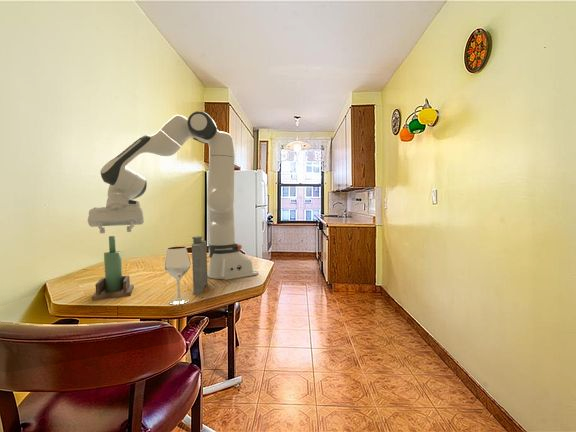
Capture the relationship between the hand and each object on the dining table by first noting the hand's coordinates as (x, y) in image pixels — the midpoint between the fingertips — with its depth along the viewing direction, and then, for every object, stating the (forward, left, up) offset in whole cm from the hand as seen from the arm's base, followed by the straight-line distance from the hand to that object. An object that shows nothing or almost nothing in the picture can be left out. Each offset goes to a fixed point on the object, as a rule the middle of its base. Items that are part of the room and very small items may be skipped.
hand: (115, 231), depth 124 cm
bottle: (0, +11, -21) cm, 23 cm away
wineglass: (-22, +33, -22) cm, 45 cm away
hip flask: (-30, +19, -22) cm, 42 cm away
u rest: (0, +11, -22) cm, 24 cm away
